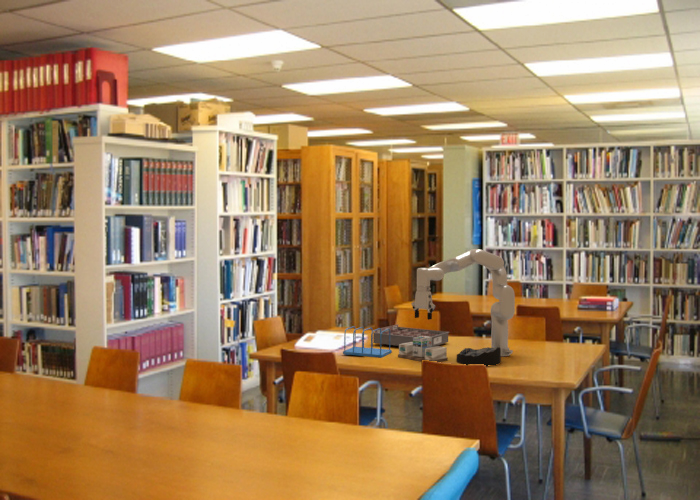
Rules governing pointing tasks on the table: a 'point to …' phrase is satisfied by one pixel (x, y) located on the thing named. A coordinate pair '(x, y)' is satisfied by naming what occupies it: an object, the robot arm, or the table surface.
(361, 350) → the file sorter
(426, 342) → the light bulb box
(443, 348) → the rail board
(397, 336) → the organizer tray
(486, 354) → the topographical model
